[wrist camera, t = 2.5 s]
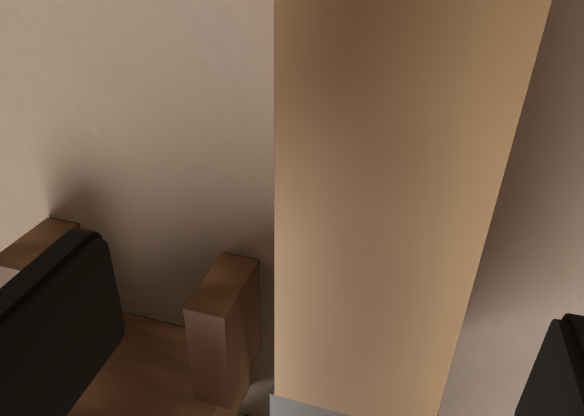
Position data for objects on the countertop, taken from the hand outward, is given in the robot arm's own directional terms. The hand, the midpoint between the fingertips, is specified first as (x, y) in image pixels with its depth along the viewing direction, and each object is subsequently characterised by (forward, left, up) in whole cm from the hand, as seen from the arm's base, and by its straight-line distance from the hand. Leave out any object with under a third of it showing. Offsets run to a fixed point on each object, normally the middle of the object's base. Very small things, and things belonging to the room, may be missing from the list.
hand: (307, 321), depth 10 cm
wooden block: (-1, 0, -8) cm, 8 cm away
